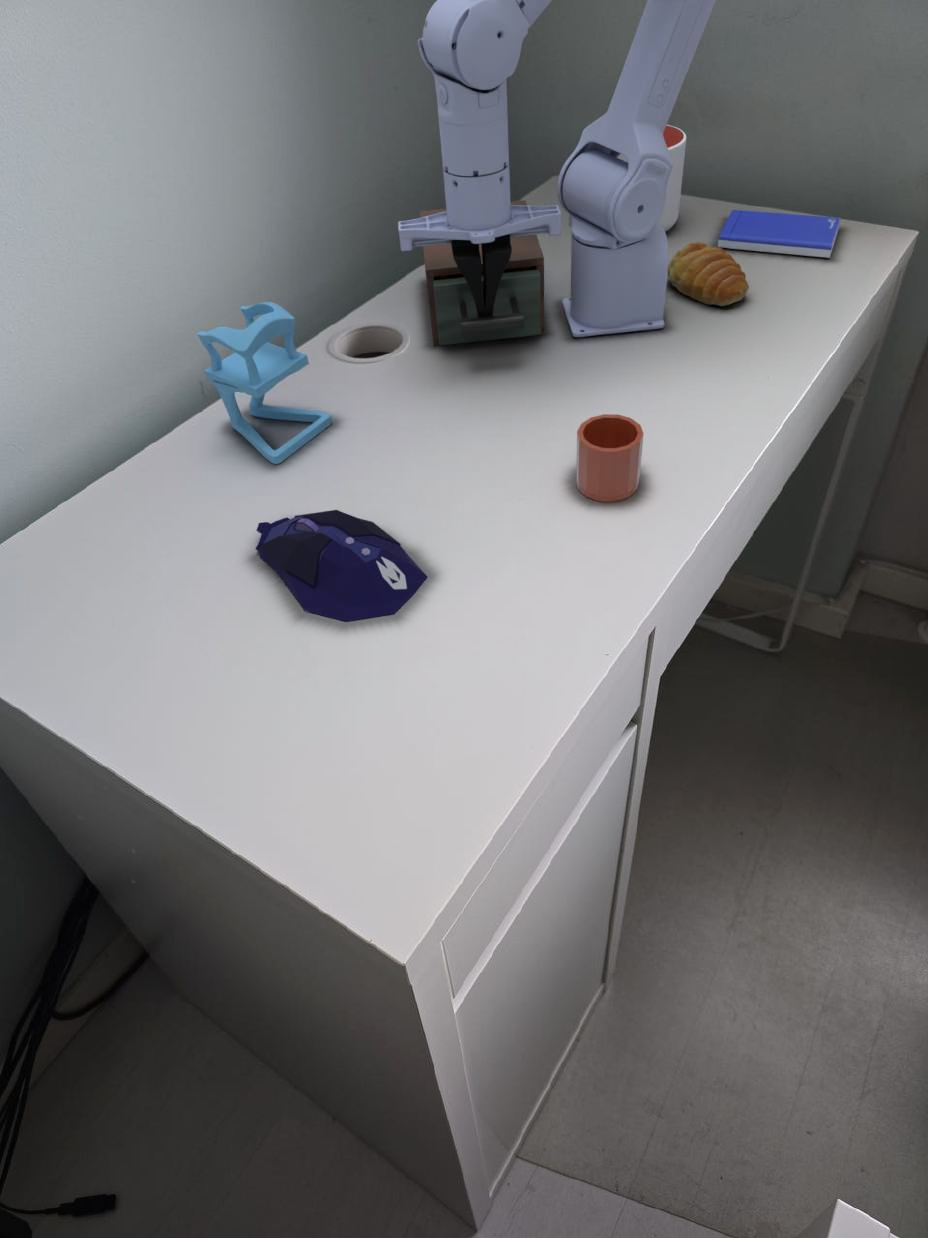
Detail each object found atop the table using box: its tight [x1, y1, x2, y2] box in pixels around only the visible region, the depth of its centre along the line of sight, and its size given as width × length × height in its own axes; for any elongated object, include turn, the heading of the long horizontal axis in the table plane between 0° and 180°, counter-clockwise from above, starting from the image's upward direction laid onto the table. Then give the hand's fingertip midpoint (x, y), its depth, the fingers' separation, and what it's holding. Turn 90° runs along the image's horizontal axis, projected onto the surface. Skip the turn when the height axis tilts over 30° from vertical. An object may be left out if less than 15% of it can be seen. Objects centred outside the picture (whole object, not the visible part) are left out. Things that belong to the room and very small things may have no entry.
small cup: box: [575, 413, 644, 503], centre depth 71 cm, size 5×5×5 cm
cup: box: [617, 124, 687, 233], centre depth 104 cm, size 10×10×10 cm
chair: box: [197, 301, 332, 465], centre depth 77 cm, size 8×8×12 cm
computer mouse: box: [254, 509, 428, 622], centre depth 66 cm, size 9×15×4 cm, turn 58°
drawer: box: [433, 267, 542, 346], centre depth 89 cm, size 18×10×6 cm, turn 4°
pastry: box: [667, 241, 750, 307], centre depth 93 cm, size 9×7×4 cm
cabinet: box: [419, 199, 545, 347], centre depth 93 cm, size 15×12×8 cm
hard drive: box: [717, 209, 842, 259], centre depth 101 cm, size 2×8×12 cm
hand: (484, 314), depth 84 cm, fingers closed
